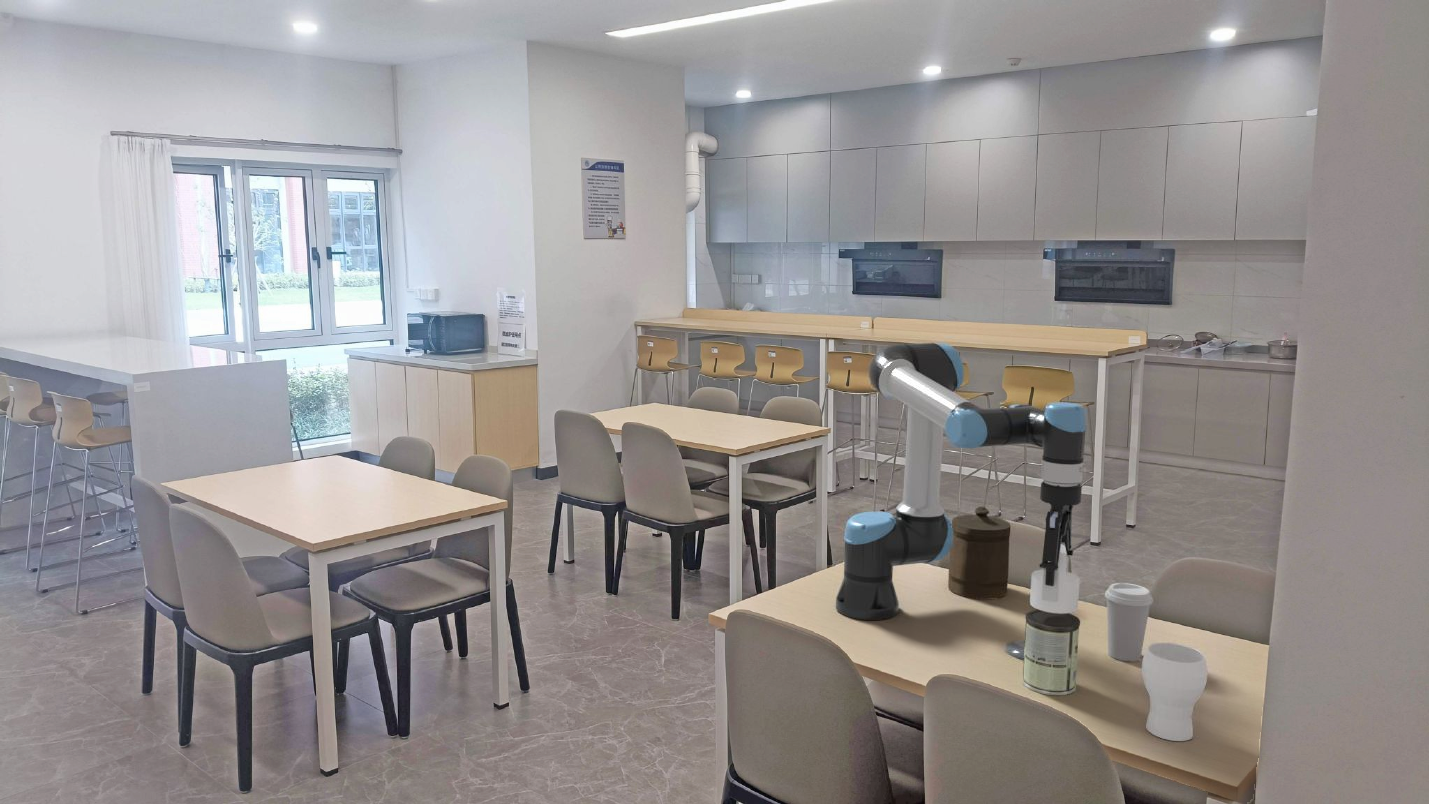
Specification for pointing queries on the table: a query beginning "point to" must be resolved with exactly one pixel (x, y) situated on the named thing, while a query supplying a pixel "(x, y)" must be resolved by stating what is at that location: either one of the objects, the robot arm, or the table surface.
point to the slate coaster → (1016, 649)
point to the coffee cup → (1127, 620)
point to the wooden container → (979, 556)
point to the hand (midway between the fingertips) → (1054, 593)
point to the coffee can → (1050, 652)
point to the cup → (1173, 688)
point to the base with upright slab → (1066, 589)
